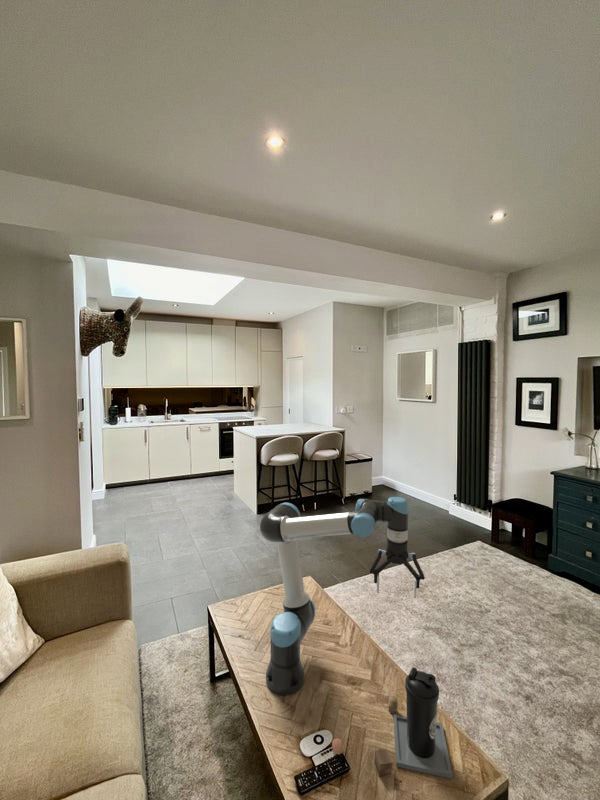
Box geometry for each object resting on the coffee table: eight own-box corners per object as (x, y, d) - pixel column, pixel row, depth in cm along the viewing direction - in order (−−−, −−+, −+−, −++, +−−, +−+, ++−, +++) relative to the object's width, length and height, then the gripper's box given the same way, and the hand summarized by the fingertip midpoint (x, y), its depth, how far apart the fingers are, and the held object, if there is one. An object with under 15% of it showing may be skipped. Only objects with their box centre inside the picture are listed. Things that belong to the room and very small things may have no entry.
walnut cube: (379, 777, 103) (379, 764, 103) (374, 762, 107) (374, 750, 107) (392, 775, 104) (392, 762, 104) (386, 761, 108) (387, 748, 108)
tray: (396, 766, 106) (396, 762, 106) (393, 717, 122) (393, 713, 122) (452, 778, 103) (452, 774, 103) (441, 727, 118) (441, 723, 118)
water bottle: (433, 768, 105) (435, 695, 104) (400, 749, 111) (401, 679, 110) (440, 740, 114) (442, 671, 113) (409, 723, 119) (410, 658, 118)
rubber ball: (331, 756, 109) (331, 745, 109) (332, 744, 112) (332, 733, 112) (342, 758, 108) (343, 747, 108) (343, 747, 112) (343, 736, 111)
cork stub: (388, 714, 123) (389, 702, 123) (388, 706, 126) (388, 694, 126) (397, 715, 122) (397, 703, 122) (397, 708, 125) (397, 696, 125)
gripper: (363, 539, 131) (362, 594, 132) (433, 546, 126) (432, 603, 127) (364, 531, 138) (363, 583, 139) (430, 537, 133) (428, 591, 134)
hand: (396, 593), depth 133 cm, fingers open, 13 cm apart
